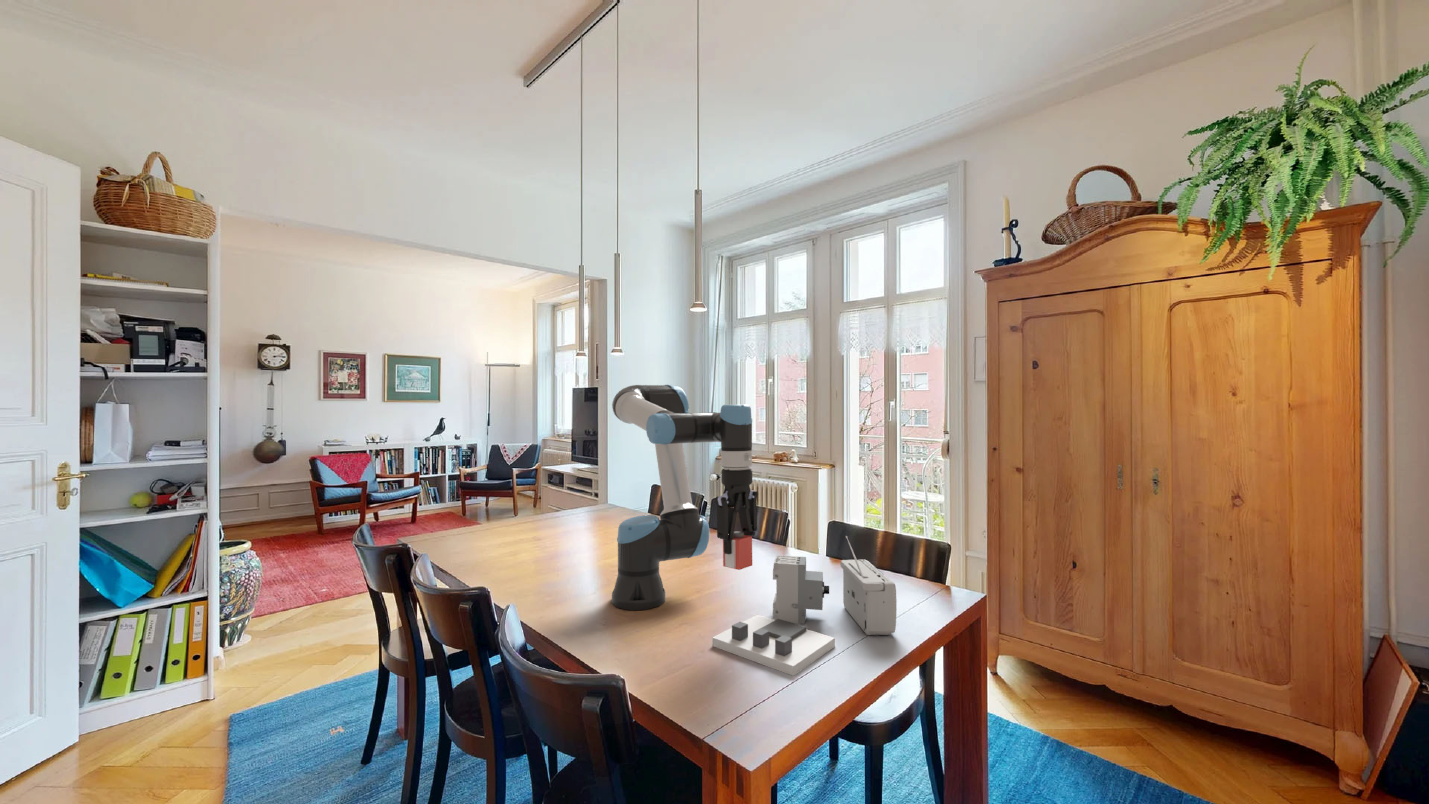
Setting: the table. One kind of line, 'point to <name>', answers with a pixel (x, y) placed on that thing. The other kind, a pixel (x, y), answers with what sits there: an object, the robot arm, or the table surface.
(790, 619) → the circuit breaker
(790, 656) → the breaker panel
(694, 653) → the table surface
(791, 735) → the table surface
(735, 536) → the cap
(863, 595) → the stereo radio cassette player
